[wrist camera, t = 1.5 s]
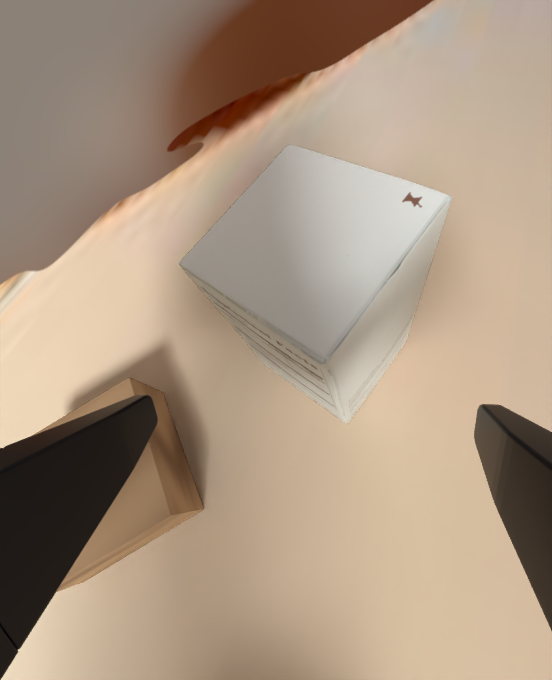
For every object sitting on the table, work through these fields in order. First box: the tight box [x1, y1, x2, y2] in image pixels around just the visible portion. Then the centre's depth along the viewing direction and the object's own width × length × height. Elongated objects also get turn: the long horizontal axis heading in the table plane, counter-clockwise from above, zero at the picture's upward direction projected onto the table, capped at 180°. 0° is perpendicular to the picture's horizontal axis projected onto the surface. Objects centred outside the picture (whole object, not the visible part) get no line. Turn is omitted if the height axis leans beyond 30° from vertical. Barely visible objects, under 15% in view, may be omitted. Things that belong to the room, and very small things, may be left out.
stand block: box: [32, 377, 204, 592], centre depth 21 cm, size 9×9×4 cm
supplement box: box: [179, 145, 452, 424], centre depth 17 cm, size 7×7×13 cm
